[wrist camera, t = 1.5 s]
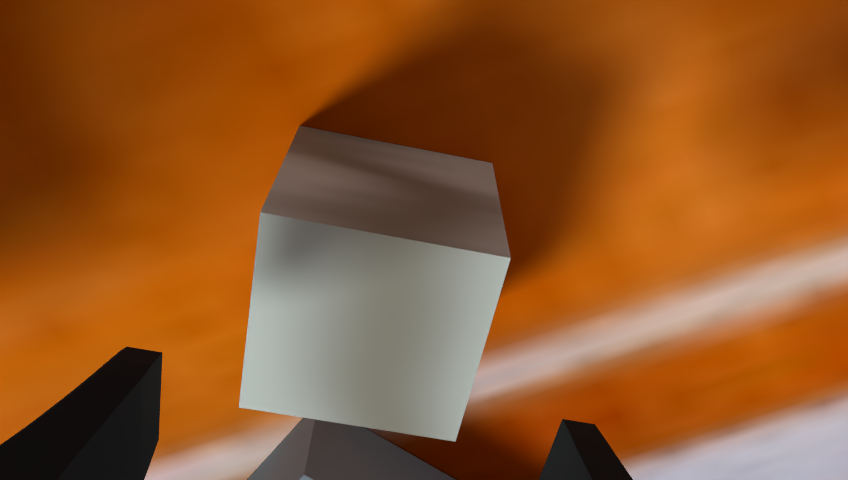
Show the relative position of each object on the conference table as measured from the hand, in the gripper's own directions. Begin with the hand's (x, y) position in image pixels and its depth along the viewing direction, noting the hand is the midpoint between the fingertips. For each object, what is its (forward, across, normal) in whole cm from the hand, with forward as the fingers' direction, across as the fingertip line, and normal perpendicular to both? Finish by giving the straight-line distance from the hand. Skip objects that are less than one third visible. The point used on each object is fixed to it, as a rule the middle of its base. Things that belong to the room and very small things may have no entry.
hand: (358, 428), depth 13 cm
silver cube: (+8, 0, 0) cm, 8 cm away
